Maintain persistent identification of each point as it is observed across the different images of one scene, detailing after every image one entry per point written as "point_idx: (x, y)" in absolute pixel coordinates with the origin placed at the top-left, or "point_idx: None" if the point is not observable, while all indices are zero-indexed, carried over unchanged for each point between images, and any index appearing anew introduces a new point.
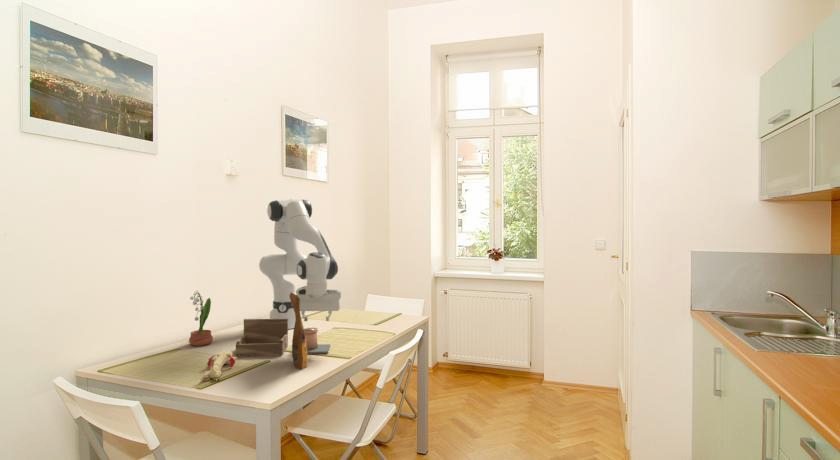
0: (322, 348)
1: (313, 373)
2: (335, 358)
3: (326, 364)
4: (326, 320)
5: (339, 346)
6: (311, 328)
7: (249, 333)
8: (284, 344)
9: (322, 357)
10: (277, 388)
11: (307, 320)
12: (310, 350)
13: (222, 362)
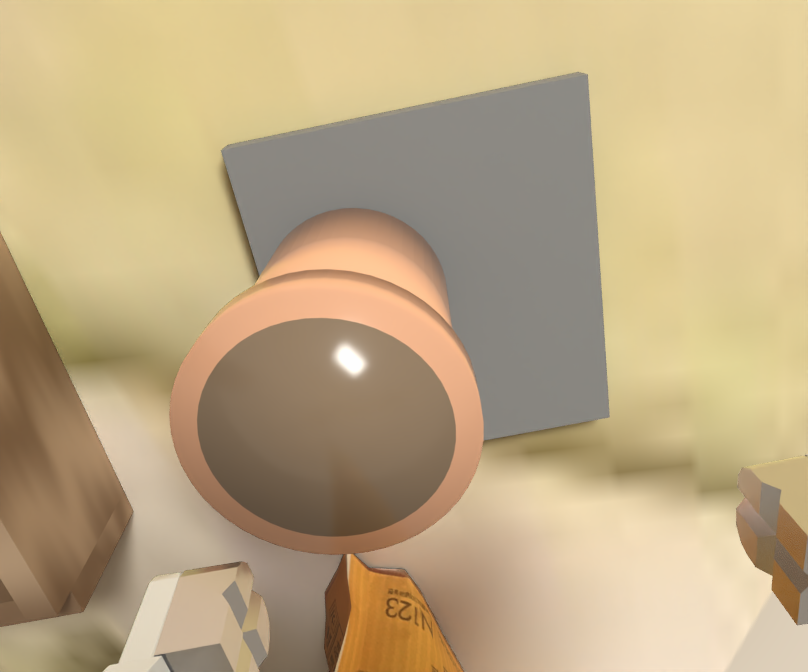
0: (518, 308)
1: None
2: (694, 525)
3: (632, 662)
4: (764, 544)
5: (713, 52)
6: (338, 377)
7: None
8: (37, 450)
9: (563, 514)
10: None
11: (251, 583)
12: None
13: None
